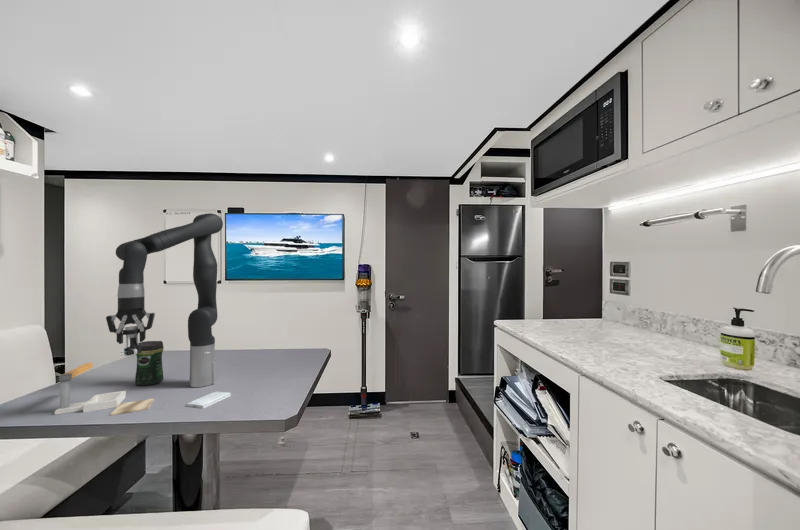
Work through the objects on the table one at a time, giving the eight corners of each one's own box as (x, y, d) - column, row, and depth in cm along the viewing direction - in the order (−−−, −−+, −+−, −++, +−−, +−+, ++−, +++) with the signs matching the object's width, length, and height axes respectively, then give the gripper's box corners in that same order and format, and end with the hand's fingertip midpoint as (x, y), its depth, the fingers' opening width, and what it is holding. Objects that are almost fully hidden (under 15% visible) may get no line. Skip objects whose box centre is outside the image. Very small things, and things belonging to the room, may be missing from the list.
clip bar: (68, 380, 112) (68, 374, 112) (57, 381, 111) (57, 376, 111) (93, 367, 129) (93, 362, 129) (84, 368, 127) (84, 363, 128)
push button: (127, 356, 112) (126, 328, 112) (115, 357, 113) (114, 328, 113) (145, 352, 118) (144, 325, 118) (134, 352, 119) (133, 325, 120)
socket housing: (125, 397, 124) (126, 370, 125) (116, 407, 115) (117, 378, 115) (66, 406, 116) (66, 377, 117) (51, 417, 107) (51, 386, 107)
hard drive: (214, 391, 127) (185, 403, 115) (231, 392, 124) (203, 405, 113) (214, 395, 127) (185, 407, 115) (231, 397, 124) (203, 409, 112)
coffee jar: (166, 379, 145) (167, 339, 146) (154, 385, 137) (155, 342, 138) (144, 380, 145) (145, 339, 145) (131, 386, 137) (131, 343, 137)
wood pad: (153, 400, 121) (153, 398, 121) (147, 409, 112) (147, 407, 112) (119, 405, 116) (119, 403, 116) (110, 415, 107) (110, 413, 107)
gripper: (157, 294, 123) (157, 338, 122) (109, 296, 116) (109, 343, 116) (153, 295, 116) (153, 342, 116) (101, 297, 110) (101, 347, 109)
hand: (131, 342), depth 116 cm, fingers closed on push button, 5 cm apart
